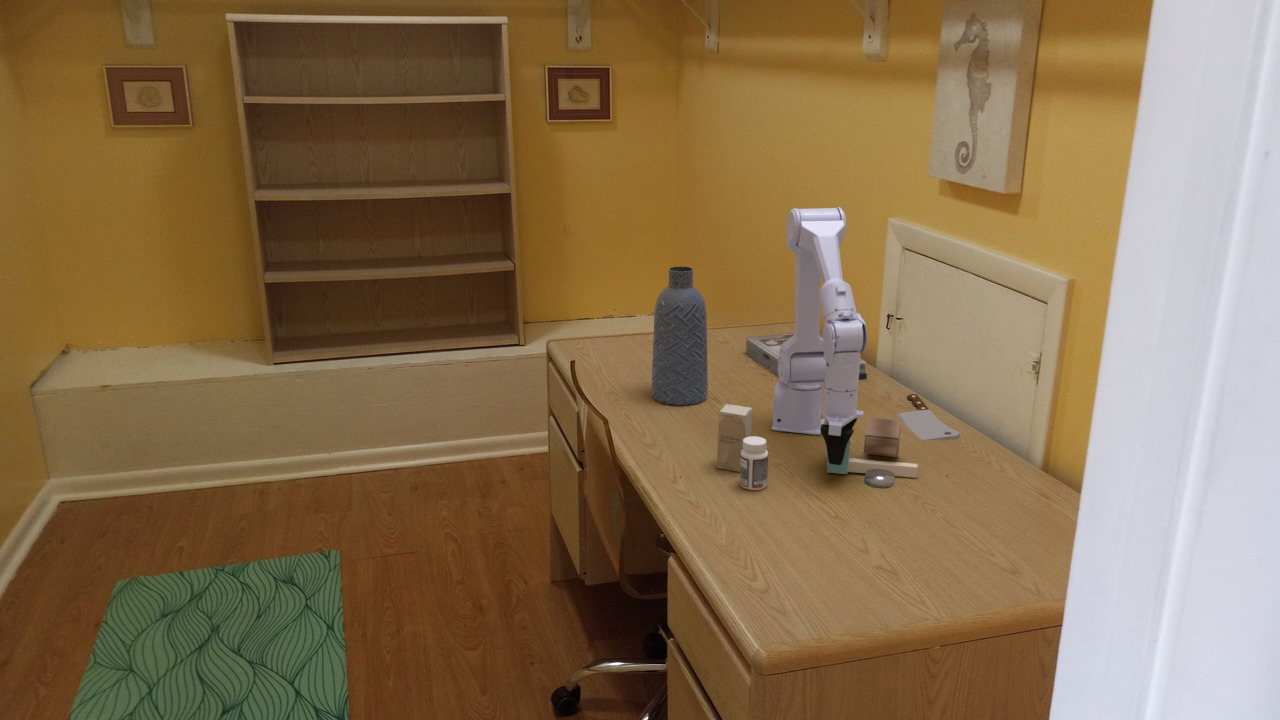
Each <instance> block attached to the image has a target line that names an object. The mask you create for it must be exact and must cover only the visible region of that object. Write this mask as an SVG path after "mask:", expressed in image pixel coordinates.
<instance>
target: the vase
mask: <svg viewBox="0 0 1280 720" xmlns="http://www.w3.org/2000/svg"><path fill="white" fill-rule="evenodd" d="M653 313H654V314H653V337H652V338H653V339H652V340H653V341H652V363H651V367H652V368H651V388H650V389H651V390H650V391H651V396H652V398H653V400H655V401H656V402H659V403H661V404H665V405H670V406H671V405H672V406H688V405H689V406H690V405H695V404H699V403H702V402H705V400H706V399H707V397H708V394H709V392H708V391H709V382H708V381H709V379H708V378H709V377H708V365H709V364H708V326H707V325H708V324H707V323H708V321H707V319H708V318H707V317H708V315H707V306H706V301H705V298H704V296H703V295H702V293H701V292H700V290H698V288H697V287H695V286H694V268H692V267H690V266H672V267H669V268H668V285H667V286H666V287H665V288H664V289H663V290H661V291H660V293H659V295H658V296H657V298H656V301H655V306H654V312H653Z"/></svg>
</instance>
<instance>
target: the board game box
mask: <svg viewBox="0 0 1280 720" xmlns="http://www.w3.org/2000/svg"><path fill="white" fill-rule="evenodd" d="M794 334H795V332H792V333H791V332H790V333H782V334H781V333H780V334H769V335H761V336H752V337H749V336H748V337H746V338H745V339H746V340H745V344H746V345H745V354H747V355H746V356H748V357H749V356H750V357H749V358H750V359H752V358H753V359H754V360H753V359H752V360H753V361H755V360H756V361H757V364H759V363H760V364H759V365H760V366H762V367H764V368H765V369H766V368H767V370H768V371H769V370H770V371H769V372H771V373H773V375H775V376H777V377H778V378H779V375H778V359H779V355H780V347H781V345H782V344H783V343H784V342H785V341H787V340H788V339H789V338H791V337H792V336H793V335H794ZM819 337H821V338H822V339H823V335H820V334H819ZM812 352H816V351H812ZM756 361H755V362H756ZM866 366H867V361H866V360H865V359H863V358H861V357H860V368H859V381H861V380H867V378H868V373H866V369H867V368H866Z"/></svg>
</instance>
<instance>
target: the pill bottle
mask: <svg viewBox="0 0 1280 720" xmlns="http://www.w3.org/2000/svg"><path fill="white" fill-rule="evenodd" d="M768 472H769V452H768V450H767V439H765V438H764V437H761V436H755V435H754V436H750V437H746V438H744V439H743V449H742V451H741V460H740V473H739V484H740V486H741V487H742V488H743V489H745V490H749V491H761V490H764V489H765V488H766V487H767V486H768V478H769V477H768V476H769V475H768V474H769V473H768Z"/></svg>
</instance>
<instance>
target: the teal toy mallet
mask: <svg viewBox="0 0 1280 720" xmlns="http://www.w3.org/2000/svg"><path fill="white" fill-rule="evenodd" d="M850 450H851V438H850V439H849V441H848V443H847V445H846V449H845V454H844V458H843V461H842V464H841V465H834V464H829V460H828V458H827V462H826V471H827V472H826V473H827V474H829V473H830V474H841V475H848V473H854V474H855V473H857V474H858V473H859V474H865V473H866V471H868V470H871V469H883V470H887V471H890V472H892V473H893V474H894V475H895V477H904V478H913V479H915V478H916V479H917V478H918V477H917V476H918V470H919V469H918V468H919V467H918V463H913V462H912V463H911V462H910V463H909V462H899V461H898V462H897V461H887V460H875V459H866V458H854V457H852V458H851V457H850Z"/></svg>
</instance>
